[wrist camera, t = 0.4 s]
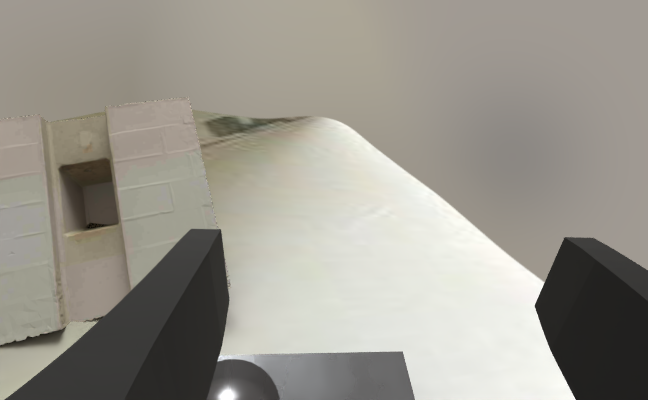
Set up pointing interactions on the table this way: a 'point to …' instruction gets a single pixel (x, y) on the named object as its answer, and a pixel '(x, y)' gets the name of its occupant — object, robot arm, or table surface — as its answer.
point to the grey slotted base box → (312, 377)
